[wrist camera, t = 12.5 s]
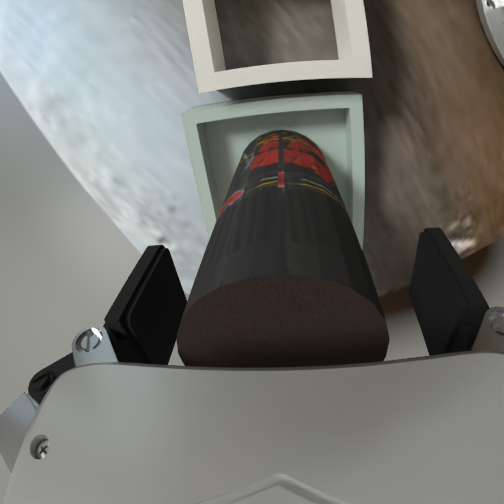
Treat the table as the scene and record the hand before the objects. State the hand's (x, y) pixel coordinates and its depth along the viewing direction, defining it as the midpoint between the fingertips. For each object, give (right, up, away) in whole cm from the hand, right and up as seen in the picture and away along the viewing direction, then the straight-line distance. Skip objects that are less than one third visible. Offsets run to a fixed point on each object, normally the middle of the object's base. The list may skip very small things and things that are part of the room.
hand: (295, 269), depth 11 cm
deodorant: (+1, +6, +10) cm, 11 cm away
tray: (0, +6, +10) cm, 12 cm away
